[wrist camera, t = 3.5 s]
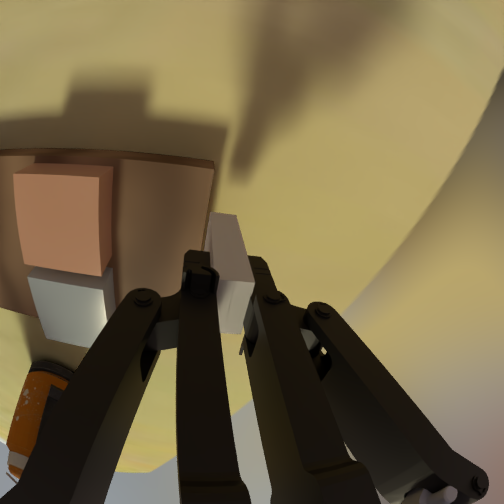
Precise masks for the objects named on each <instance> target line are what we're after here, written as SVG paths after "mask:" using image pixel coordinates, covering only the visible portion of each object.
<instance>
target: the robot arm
mask: <svg viewBox="0 0 504 504" xmlns="http://www.w3.org/2000/svg"><path fill="white" fill-rule="evenodd" d="M243 325H244V331H245V334H244V338H243V341H242V344H241V348H240V352H239V355H242V353H243V350H244V353H245V359H246V364H247V370H248V375H249V380H250V386H251V391H252V396H253V401H254V406H255V411H256V416H257V421H258V426H259V431H260V436H261V441H262V446H263V450H264V455H265V460H266V464H267V469H268V474H269V478H270V483H271V488H272V495H271V500H270V501H271V502H270V503H271V504H381V502H380V499H379V497H378V494H377V492H376V489H377V490H378V491H379V493H380V494H381V495H382V496H383V497H384V498H385V499H386V500H387V501H388V502H389V503H390V504H472V503H474V502H476V501H478V500H480V499H482V498H483V497H484V496H485V495H486V493H487V491H488V486H489V480H488V476H487V474H486V473H485V471H484V470H483V469H481V468H479V467H478V466H476V465H475V464H473V463H471V462H470V461H469V460H467V459H466V458H464V457H462V456H461V455H459V454H458V453H456V452H455V451H453V450H452V449H451V448H450V447H449V445H448V444H447V443H446V441H445V440H444V439H443V438H442V436H441V435H440V434H439V433H438V431H437V430H436V429H435V428H434V426H433V425H432V424H431V423H430V421H429V420H428V419H427V418H426V416H425V415H424V414H423V413H422V412H421V410H420V409H419V408H418V407H417V405H416V404H415V403H414V402H413V401H412V399H411V398H410V397H409V396H408V395H407V393H406V392H405V391H404V390H403V388H402V387H401V386H400V385H399V384H398V382H397V381H396V380H395V379H394V378H393V376H392V375H391V374H390V373H389V372H388V370H387V369H386V368H385V367H384V366H383V365H382V363H381V362H380V361H379V360H378V359H377V358H376V357H375V355H374V354H373V353H372V352H371V350H370V349H369V348H368V347H367V346H366V345H365V343H364V342H363V341H362V340H361V339H360V338H359V337H358V335H357V334H356V333H355V332H354V331H353V330H352V329H351V327H350V326H349V325H348V324H347V323H346V322H345V321H344V319H343V318H342V317H341V316H340V315H339V314H338V312H337V311H336V310H335V309H334V308H333V307H331V306H330V305H328V304H326V303H323V302H312V303H310V304H309V305H308V307H307V309H304V308H300V307H296V306H293V305H291V304H290V303H289V300H288V298H287V297H286V296H285V295H284V294H283V293H282V292H280V291H277V288H276V286H275V283H274V281H273V278H272V275H271V273H270V270H269V267H268V265H267V263H266V262H265V261H264V260H263V259H262V258H261V257H257V256H248V255H247V252H246V249H245V245H244V241H243V238H242V234H241V231H240V227H239V224H238V220H237V216H236V215H231V214H224V213H217V212H210V216H209V222H208V228H207V234H206V240H205V246H204V251H199V250H190V249H189V250H188V251H187V252H186V253H185V254H184V262H183V271H182V281H181V289H180V290H179V291H178V292H177V293H176V294H173V295H171V296H167V297H161V296H160V295H159V294H158V293H157V292H156V291H154V290H152V289H148V288H136V289H134V290H131V291H130V292H129V293H128V294H127V295H126V296H125V297H124V299H123V300H122V302H121V303H120V304H119V306H118V307H117V309H116V310H115V312H114V313H113V314H112V316H111V317H110V319H109V320H108V322H107V323H106V325H105V326H104V328H103V329H102V331H101V332H100V334H99V335H98V337H97V338H96V340H95V341H94V343H93V344H92V346H91V347H90V349H89V350H88V352H87V354H86V355H85V357H84V358H83V360H82V361H81V363H80V365H79V366H78V368H77V370H76V371H75V373H74V374H73V376H72V378H71V379H70V381H69V383H68V385H67V386H66V388H65V390H64V391H63V393H62V395H61V397H60V398H59V400H58V402H57V404H56V406H55V407H54V409H53V411H52V413H51V415H50V416H49V418H48V420H47V422H46V424H45V426H44V428H43V430H42V432H41V434H40V436H39V438H38V440H37V442H36V444H35V446H34V448H33V450H32V452H31V454H30V456H29V459H28V461H27V463H26V465H25V467H24V470H23V472H22V474H21V477H20V479H19V482H18V484H16V485H15V486H14V487H13V488H12V489H11V490H10V491H8V492H7V493H6V494H5V495H4V496H3V497H2V498H0V504H104V502H105V499H106V495H107V492H108V489H109V486H110V483H111V480H112V478H113V474H114V472H115V469H116V466H117V463H118V460H119V457H120V455H121V452H122V449H123V446H124V444H125V441H126V438H127V436H128V433H129V430H130V428H131V425H132V422H133V420H134V417H135V414H136V412H137V409H138V407H139V404H140V402H141V399H142V397H143V394H144V392H145V389H146V387H147V384H148V382H149V379H150V377H151V374H152V372H153V370H154V367H155V365H156V362H157V360H158V358H159V355H160V353H161V350H165V349H171V348H177V361H176V444H177V466H178V482H179V495H180V504H251V499H250V495H249V491H248V489H247V487H246V485H245V484H244V482H243V481H242V479H241V477H240V473H239V467H238V461H237V455H236V449H235V442H234V437H233V430H232V422H231V415H230V408H229V401H228V394H227V386H226V378H225V370H224V362H223V353H222V344H221V335H220V333H229V334H241V332H242V328H243ZM322 347H324V348H325V350H326V351H327V353H326V354H323V353H322V351H321V349H322ZM344 442H345V444H346V445H347V447H348V448H349V450H350V451H351V453H352V454H353V456H354V457H355V459H356V460H357V461H354V460H352V459H351V458H350V456H349V454H348V452H347V449H346V446H345V444H344ZM375 488H376V489H375Z"/></svg>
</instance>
